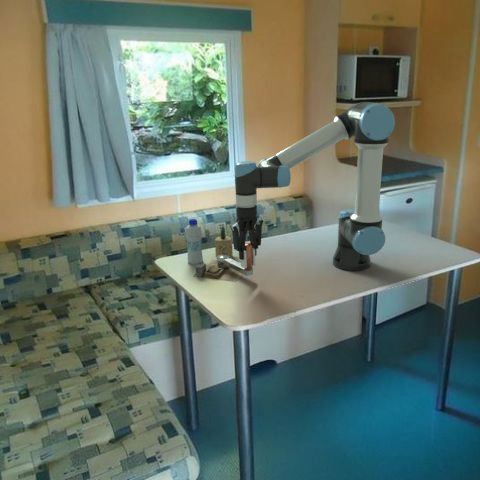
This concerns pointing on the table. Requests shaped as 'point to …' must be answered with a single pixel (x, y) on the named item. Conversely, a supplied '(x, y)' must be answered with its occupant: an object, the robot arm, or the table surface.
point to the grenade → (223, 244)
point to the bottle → (194, 242)
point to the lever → (236, 265)
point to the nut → (213, 268)
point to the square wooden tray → (223, 273)
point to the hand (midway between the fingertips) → (248, 265)
